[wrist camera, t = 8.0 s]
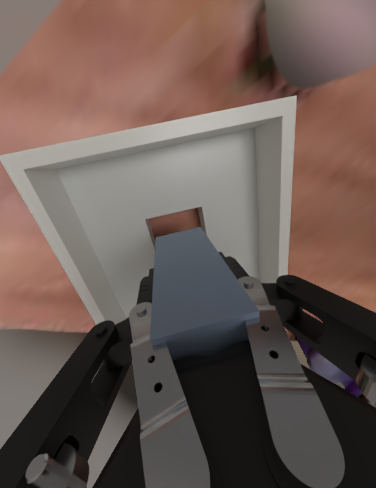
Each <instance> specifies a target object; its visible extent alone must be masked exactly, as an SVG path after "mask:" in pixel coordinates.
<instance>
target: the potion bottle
mask: <svg viewBox="0 0 376 488" xmlns="http://www.w3.org/2000/svg"><path fill="white" fill-rule="evenodd" d="M295 339H296V340H297V341H298V343H299V345H300V347H301V349H302V350H303V352H304V354H305V356H306V358H307V363H308V365H309V366H310V368H311V370H312V371H314V372H315V373H317V374H319V375H321V376H322V377H324V378H326V379H328V380H329V381H331V382H333V383H334V384H335V383H338V382H341V383H342V384H343V385H344V386H345V390H346V391H348V392H350V393H352V394H353V395H355V396H357V397H359V398H360V399H362V400H364V401H365V402H367V400H366V397H365V396H364V395H363V393H362V392H361V391H360V389H359V388H358V385H357V383H356V381H355V380H353V379H352V378H351V377H349V376H348V375H347V374H345V373H344V372H343V371H341V370H340V369H339V368H337V367H336V366H335V365H334V364H332V363H331V362H330V361H328V360H327V359H326V358H324V357H323V356H322V355H320V354H319V353H318V352H316V351H315V350H314V349H312V348H311V347H310V346H308V345H307V344H306V343H305V342H303V341H302V340H301V339H299V338H298V337H297V336H295ZM367 403H368V402H367Z"/></svg>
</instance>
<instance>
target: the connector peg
mask: <svg viewBox="0 0 376 488" xmlns="http://www.w3.org/2000/svg"><path fill="white" fill-rule="evenodd" d="M256 317H259V310H258V308H257V307H256V305H255V304H254V303H253V301H252V300H251V298H250V297H249V295H248V294H247V293H246V291H245V290H244V288H243V287H242V285H241V284H240V283H239V281H238V280H237V278H236V277H235V275H234V274H233V273H232V271H231V270H230V268H229V267H228V265H227V264H226V263H225V261H224V260H223V258H222V257H221V255H220V254H219V253H218V251H217V250H216V248H215V247H214V245H213V244H212V243H211V241H210V240H209V238H208V237H207V235H206V234H205V232H204V231H203V230H202V228H201V227H197V228H193V229H188V230H184V231H180V232H176V233H171V234H167V235H163V236H159V237H156V240H155V258H154V275H153V293H152V310H151V328H150V342H151V344H152V346H153V345H156V344H160V343H164V342H166V344H167V347H168V350H169V352H170V355H171V358H172V361H173V360H177V359H180V358H184V357H188V356H212V355H214V354H216V353H218V352H219V351H221V350H223V349H224V348H226V347H228V346H229V345H231V344H235V343H238V342H242V341H245V340H248V338H247V334H246V326H245V320H249V319H253V318H256Z"/></svg>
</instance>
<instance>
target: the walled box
mask: <svg viewBox="0 0 376 488" xmlns="http://www.w3.org/2000/svg"><path fill="white" fill-rule="evenodd" d="M296 98H297V95H296V96H291V97H286V98H282V99H277V100H272V101H267V102H262V103H257V104H252V105H247V106H242V107H237V108H232V109H227V110H222V111H217V112H212V113H207V114H202V115H198V116H193V117H188V118H183V119H178V120H173V121H168V122H163V123H158V124H153V125H148V126H143V127H138V128H133V129H128V130H123V131H118V132H114V133H109V134H104V135H99V136H94V137H89V138H84V139H79V140H74V141H69V142H64V143H59V144H54V145H49V146H44V147H39V148H35V149H30V150H25V151H20V152H15V153H10V154H5V155H0V161H1V162H2V164H3V166H4V168H5V169H6V171H7V173H8V174H9V176H10V178H11V180H12V181H13V183H14V185H15V186H16V188H17V190H18V192H19V193H20V195H21V197H22V198H23V200H24V202H25V204H26V205H27V207H28V209H29V210H30V212H31V214H32V216H33V217H34V219H35V221H36V222H37V224H38V226H39V228H40V229H41V231H42V233H43V234H44V236H45V238H46V240H47V241H48V243H49V245H50V246H51V248H52V250H53V252H54V253H55V255H56V257H57V259H58V260H59V262H60V264H61V265H62V267H63V269H64V271H65V272H66V274H67V276H68V277H69V279H70V281H71V283H72V284H73V286H74V288H75V289H76V291H77V293H78V295H79V296H80V298H81V300H82V301H83V303H84V305H85V307H86V308H87V310H88V312H89V313H90V315H91V317H92V319H93V320H94V322H95V324H96V325H97V324H99V323H100V322H103V321H107V320H110V321H113V322H114V324H115V325H116V324H117V323H119V322H121V321H123V320H125V319H127V318H128V317H129V313H130V311H131V310H132V308H133V307H135V306H136V304H137V298H138V292H139V288H140V287H139V286H140V282H141V280H142V279H143V278H144V277H146V276H149V269H151V268H154V258H155V237H154V234H153V231H152V227H151V224H150V221H149V219H150V218H154V217H158V216H163V215H167V214H171V213H176V212H180V211H184V210H189V209H193V208H197V207H198V213H199V219H200V224H201V228H202V230H203V231H204V232H205V234H206V235H207V237H208V238H209V240H210V241H211V243H212V244H213V245H214V247H215V248H216V250H217V251H218V252H222V253H223V254H224V256H225V257H228V256H231V257H233V258H235V259H236V260H237V262H238V263H239V264H240V265H241V266H242V268H243V269H244V270H245V271H246V272H247V274H248V275H249V276H251V277H255V278H257V279H258V280H260V282H261V283H276V280H277V278H278V277H280V276H282V275H288V256H289V236H290V216H291V197H292V177H293V157H294V138H295V118H296Z"/></svg>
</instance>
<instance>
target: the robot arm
mask: <svg viewBox="0 0 376 488" xmlns="http://www.w3.org/2000/svg"><path fill="white" fill-rule="evenodd" d="M218 253H219V254H220V255H221V257H222V258H223V260H224V261H225V263H226V264H227V265H228V267H229V268H230V270H231V271H232V273H233V274H234V275H235V277H236V278H237V280H238V281H239V283H240V284H241V285H242V287H243V288H244V290H245V291H246V293H247V294H248V295H249V297H250V298H251V300H252V301H253V303H254V304H255V305H256V307H257V308H258V310H259V317H256V318H253V319H249V320H245V326H246V334H247V338H248V340H245V341H242V342H238V343H235V344H231V345H229V346H228V347H226V348H224V349H223V350H221V351H219V352H218V353H216V354H214V355H212V356H188V357H184V358H180V359H177V360H173V361H172V358H171V355H170V352H169V350H168V347H167V344H166V342H164V343H160V344H156V345H153V346H152V344H151V342H150V328H151V310H152V293H153V275H154V268H151V269H149V276H146V277H144V278H143V279H142V280H141V282H140V286H139V287H140V288H139V292H138V298H137V304H136V306H135V307H133V308H132V310H131V311H130V313H129V317H128V318H127V319H125V320H123V321H121V322H119V323H117V324H116V325H115V324H114V322H113V321H110V320H107V321H103V322H100V323H99V324H97V325H96V326H94V327H93V328H92V329H91V330H90V332H89V333H88V334H87V336H86V337H85V338H84V340H83V341H82V342H81V344H80V345H79V346H78V347H77V349H76V350H75V352H74V353H73V354H72V355H71V357H70V358H69V359H68V361H67V362H66V363H65V365H64V366H63V367H62V369H61V370H60V371H59V373H58V374H57V375H56V377H55V378H54V379H53V381H52V382H51V383H50V385H49V386H48V387H47V389H46V390H45V391H44V392H43V394H42V395H41V396H40V398H39V399H38V400H37V402H36V403H35V404H34V406H33V407H32V408H31V410H30V411H29V413H28V414H27V415H26V416H25V418H24V419H23V420H22V422H21V423H20V424H19V426H18V427H17V428H16V430H15V431H14V432H13V433H12V435H11V436H10V437H9V439H8V440H7V441H6V443H5V444H4V445H3V447H2V448H1V449H0V488H87V482H88V477H89V465H88V459H89V457H90V454H91V452H92V450H93V448H94V445H95V443H96V441H97V439H98V436H99V434H100V431H101V429H102V427H103V425H104V423H105V421H106V418H107V416H108V414H109V411H110V409H111V407H112V404H113V402H114V400H115V398H116V396H117V393H118V391H119V389H120V387H121V384H122V382H123V380H124V378H125V375H126V373H127V371H128V369H129V366H130V364H131V361H132V362H133V370H134V377H135V385H136V392H137V400H138V409H137V411H136V412H135V414H134V416H133V418H132V419H131V421H130V423H129V425H128V426H127V428H126V430H125V432H124V434H123V435H122V437H121V439H120V440H119V442H118V444H117V446H116V447H115V449H114V451H113V453H112V454H111V456H110V458H109V460H108V462H107V463H106V465H105V467H104V468H103V470H102V472H101V474H100V475H99V477H98V479H97V480H96V482H95V484H94V486H93V487H92V488H376V313H375V312H373V311H370V310H368V309H366V308H364V307H362V306H360V305H358V304H355V303H353V302H351V301H349V300H347V299H345V298H342V297H340V296H338V295H336V294H334V293H332V292H329V291H327V290H325V289H323V288H321V287H319V286H316V285H314V284H312V283H310V282H308V281H306V280H303V279H301V278H299V277H297V276H293V275H282V276H280V277H278V278H277V280H276V283H261V282H260V280H258V279H257V278H255V277H251V276H249V275H248V274H247V272H246V271H245V270H244V269H243V268H242V266H241V265H240V264H239V263H238V262H237V260H236V259H235V258H233V257H231V256H228V257H225V256H224V254H223V253H222V252H218ZM303 309H305V310H307V311H308V312H310V313H312V314H313V315H315V316H317V317H318V318H319V319H321V320H322V322H323V323H324V324H323V323H321V322H320V321H318V320H317V319H315V318H313V317H312V316H310V315H308V314H307V313H305V312H304V311H303ZM284 327H285V328H286V329H287V330H289V331H290V332H291V333H293V334H294V335H295V336H297V337H298V338H299V339H301V340H302V341H303V342H305V343H306V344H307V345H308V346H310V347H311V348H312V349H314V350H315V351H316V352H318V353H319V354H320V355H322V356H323V357H324V358H326V359H327V360H328V361H330V362H331V363H332V364H334V365H335V366H336V367H337V368H339V369H340V370H341V371H343V372H344V373H345V374H347V375H348V376H349V377H351V378H352V379H353V380H355V381H356V383H357V385H358V388H359V389H360V391H361V392H362V393H363V395H364V396H365V397H366V400H367V402H368V403H367V402H365V401H364V400H362V399H360V398H359V397H357V396H355V395H353V394H352V393H350V392H348V391H346V390H345V389H343V388H341V387H340V386H338V385H336V384H334V383H333V382H331V381H329V380H328V379H326V378H324V377H322V376H321V375H319V374H317V373H315V372H314V371H312V370H310V369H308V368H307V367H305V366H303V365H301V364H300V362H299V360H298V358H297V356H296V353H295V351H294V349H293V346H292V344H291V342H290V340H289V337H288V335H287V333H286V331H285V328H284ZM101 364H102V366H101V367H100V365H101ZM99 367H100V369H99ZM98 369H99V371H98ZM97 371H98V373H97V375H96V376H95V374H96V372H97ZM94 376H95V378H94ZM93 378H94V380H93V382H92V379H93ZM91 382H92V383H91Z"/></svg>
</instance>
